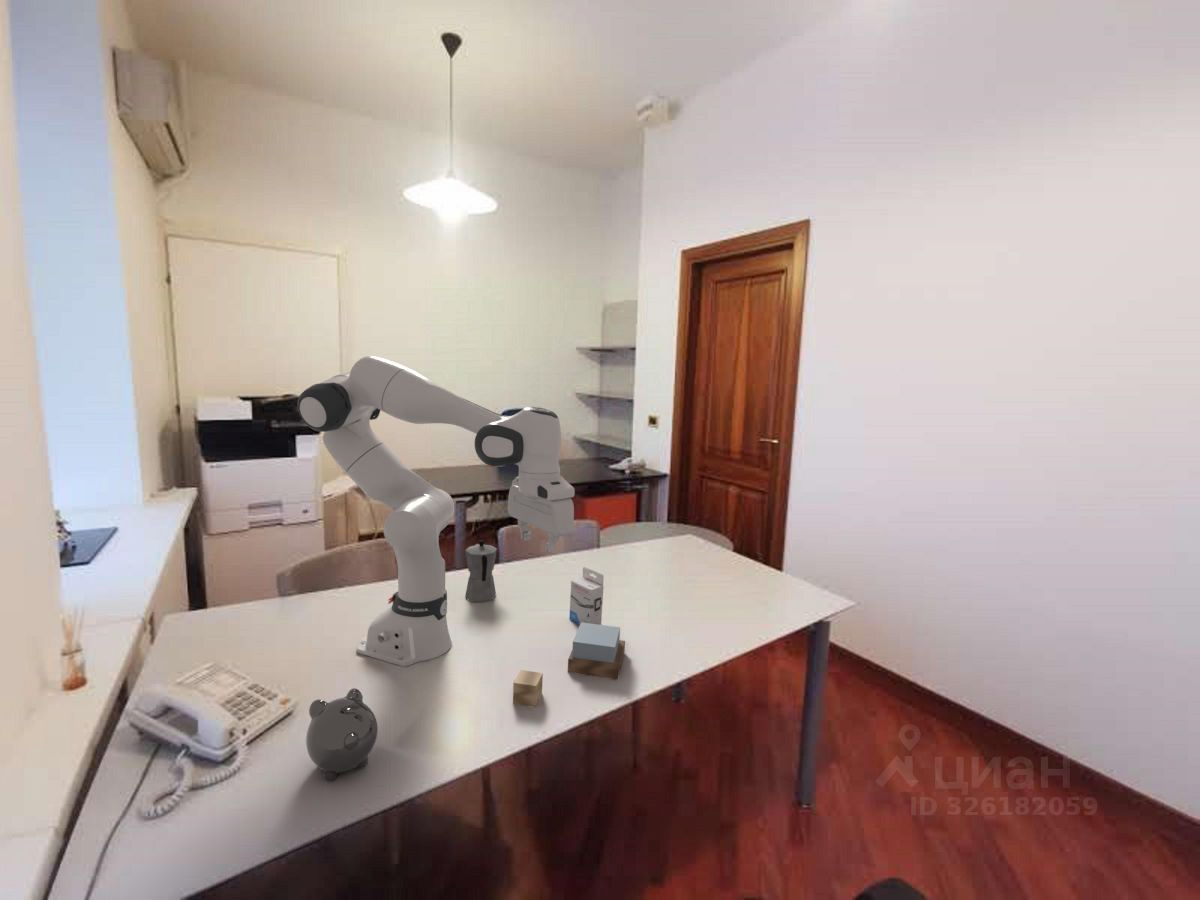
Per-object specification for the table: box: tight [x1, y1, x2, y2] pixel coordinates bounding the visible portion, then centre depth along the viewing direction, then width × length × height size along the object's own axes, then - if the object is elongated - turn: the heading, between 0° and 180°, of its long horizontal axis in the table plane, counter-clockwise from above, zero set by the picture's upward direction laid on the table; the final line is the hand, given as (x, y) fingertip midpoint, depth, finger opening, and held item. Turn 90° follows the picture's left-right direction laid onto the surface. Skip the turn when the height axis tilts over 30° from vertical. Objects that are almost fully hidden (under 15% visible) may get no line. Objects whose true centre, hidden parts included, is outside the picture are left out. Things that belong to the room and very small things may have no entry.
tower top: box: [571, 622, 621, 663], centre depth 132 cm, size 10×10×4 cm
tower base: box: [567, 639, 626, 681], centre depth 133 cm, size 12×12×4 cm
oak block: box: [512, 669, 544, 708], centre depth 117 cm, size 5×5×5 cm
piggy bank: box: [305, 687, 379, 782], centre depth 95 cm, size 11×15×12 cm
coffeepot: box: [464, 539, 498, 603], centre depth 165 cm, size 15×9×18 cm, turn 19°
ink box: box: [569, 566, 605, 625], centre depth 152 cm, size 9×5×15 cm, turn 47°
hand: (537, 545), depth 118 cm, fingers open, 8 cm apart
